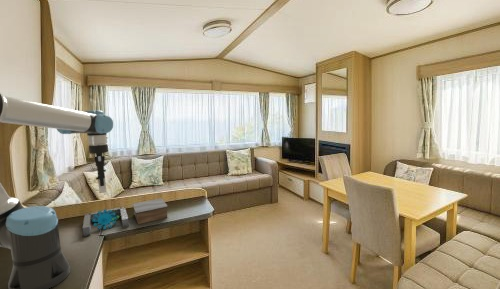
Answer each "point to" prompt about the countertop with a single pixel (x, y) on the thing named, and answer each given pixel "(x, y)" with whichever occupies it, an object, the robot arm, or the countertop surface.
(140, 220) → the dark brown wooden box
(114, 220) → the blue lumpy piece
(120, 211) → the cradle
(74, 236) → the countertop surface
